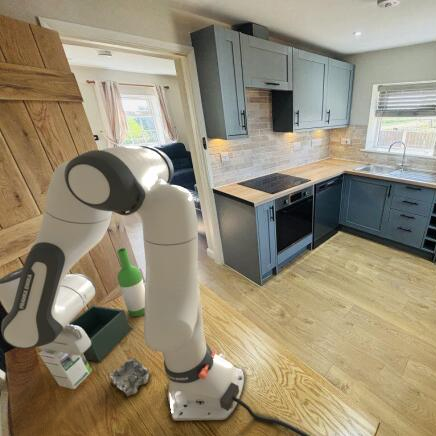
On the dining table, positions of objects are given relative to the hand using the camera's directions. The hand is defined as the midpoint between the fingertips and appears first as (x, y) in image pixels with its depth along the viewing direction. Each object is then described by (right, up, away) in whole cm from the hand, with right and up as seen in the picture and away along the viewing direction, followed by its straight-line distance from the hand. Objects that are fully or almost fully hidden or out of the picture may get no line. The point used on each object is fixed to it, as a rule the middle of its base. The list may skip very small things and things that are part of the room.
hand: (63, 356), depth 69 cm
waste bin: (-4, -5, +18) cm, 19 cm away
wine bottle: (+1, +1, +32) cm, 32 cm away
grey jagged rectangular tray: (+16, -11, +6) cm, 20 cm away
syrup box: (0, -9, +4) cm, 10 cm away
